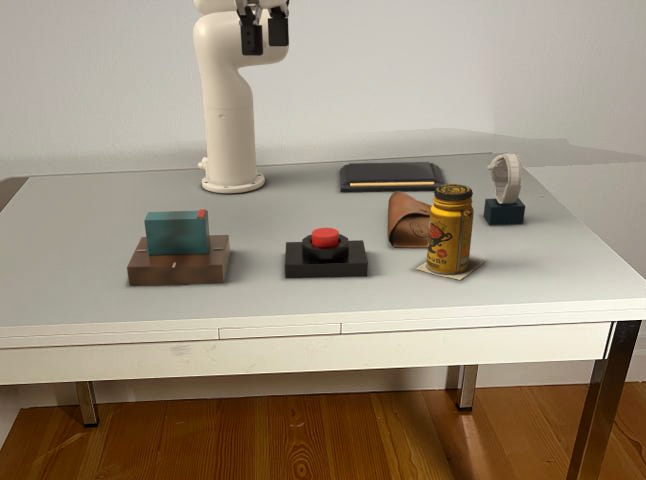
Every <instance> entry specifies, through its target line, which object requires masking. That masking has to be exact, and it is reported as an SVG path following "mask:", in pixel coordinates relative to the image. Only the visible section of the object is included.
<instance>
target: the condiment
mask: <svg viewBox="0 0 646 480" xmlns="http://www.w3.org/2000/svg"><path fill="white" fill-rule="evenodd" d="M433 194H434V195H433V199H432V203H433V204H432V207H431V210H430V220H429V221H430V222H429V234H428V248H426V249H427V250H426V261H425V262H423V263H422V264H421V265H419V266H418V267H416V268H414V269H415V270H418V271H421V272H425V273H428V274H432V275H435V276H439V277H443V278H444V277H445V278H450V279H455V280H459V281H461V280H462V279H464V278H465V277H467V276H469V274H471V273H472V272H473V271H475V270H476V269H477V268H478V267H480V266H481V265H483V264H484V262H486V261H487V259H483V258H475V257H470V256H471V255H470V254H471V244H472V235H473V224H474V223H473V222H474V214H475V209H474V207H473V205H472V204H473V195H474V192H473V189H472V188H471V187H470V186H467V185H464V184H459V183H449V184H448V183H447V184H444V185H441V186H438V187H437V188H436V189H435V191H433Z"/></svg>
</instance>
